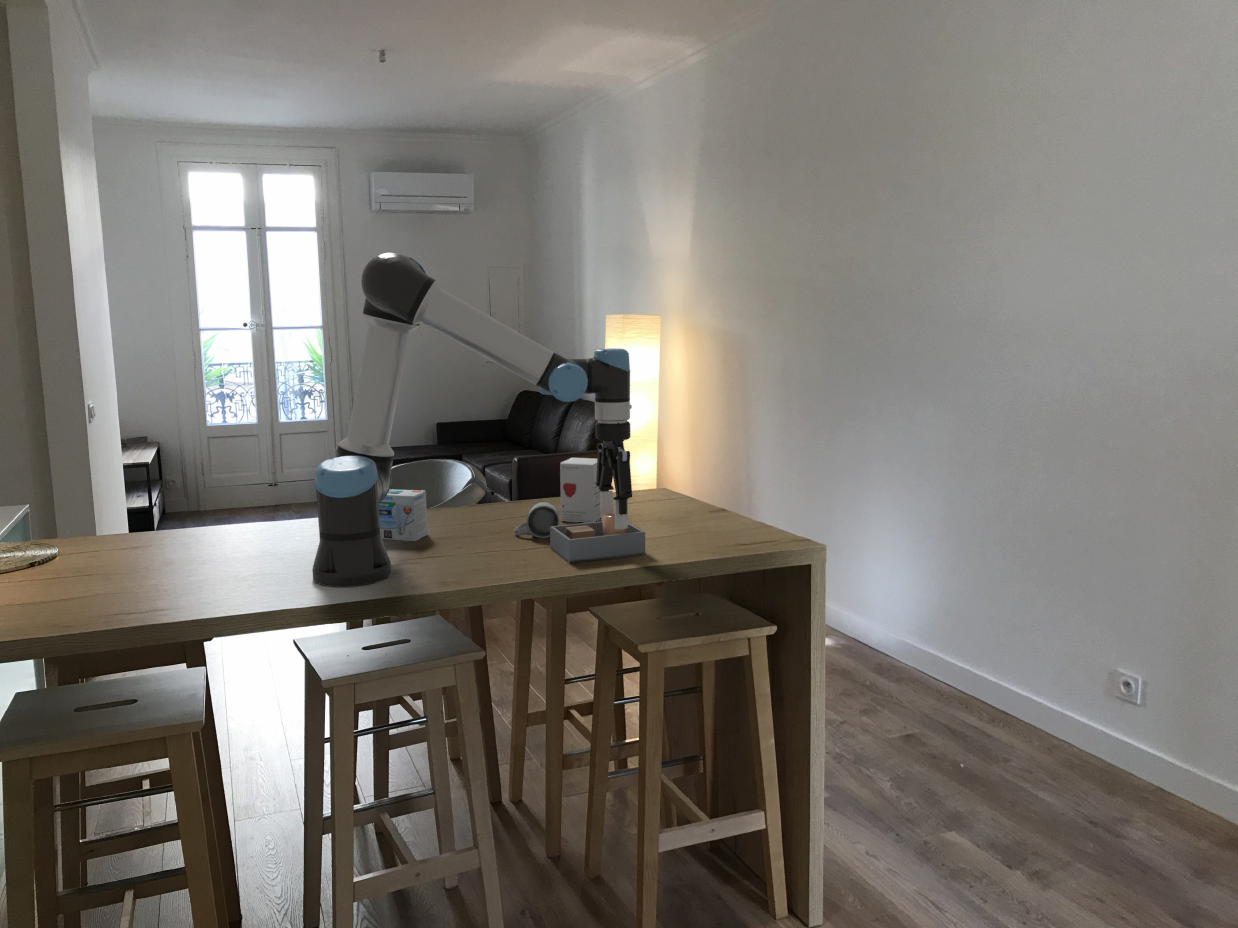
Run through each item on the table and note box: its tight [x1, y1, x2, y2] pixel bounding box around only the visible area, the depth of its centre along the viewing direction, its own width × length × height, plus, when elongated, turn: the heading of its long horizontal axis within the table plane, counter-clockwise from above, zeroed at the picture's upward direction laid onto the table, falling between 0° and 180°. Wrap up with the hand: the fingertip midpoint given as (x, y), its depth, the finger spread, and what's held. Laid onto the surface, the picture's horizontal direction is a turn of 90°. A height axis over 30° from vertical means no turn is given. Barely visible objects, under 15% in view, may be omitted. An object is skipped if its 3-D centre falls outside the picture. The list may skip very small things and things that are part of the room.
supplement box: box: [559, 457, 601, 523], centre depth 233 cm, size 9×9×15 cm
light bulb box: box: [379, 488, 429, 542], centre depth 217 cm, size 11×7×11 cm, turn 76°
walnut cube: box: [565, 525, 595, 539], centre depth 201 cm, size 5×5×5 cm
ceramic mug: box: [513, 501, 561, 539], centre depth 219 cm, size 11×8×8 cm
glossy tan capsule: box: [602, 512, 626, 536], centre depth 204 cm, size 5×5×7 cm
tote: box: [549, 520, 646, 564], centre depth 203 cm, size 17×13×5 cm
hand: (614, 524), depth 204 cm, fingers open, 8 cm apart
